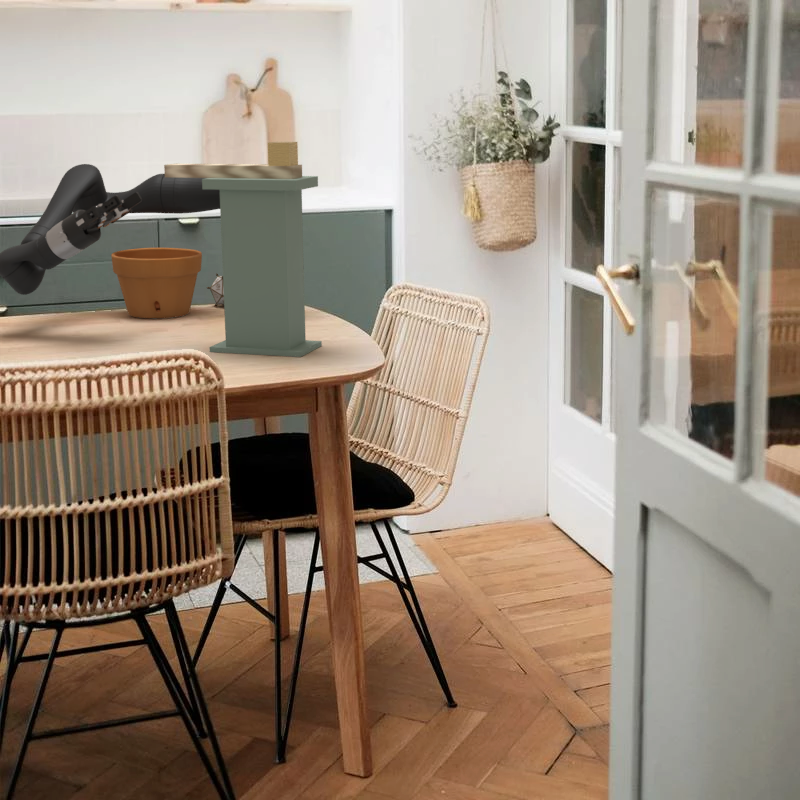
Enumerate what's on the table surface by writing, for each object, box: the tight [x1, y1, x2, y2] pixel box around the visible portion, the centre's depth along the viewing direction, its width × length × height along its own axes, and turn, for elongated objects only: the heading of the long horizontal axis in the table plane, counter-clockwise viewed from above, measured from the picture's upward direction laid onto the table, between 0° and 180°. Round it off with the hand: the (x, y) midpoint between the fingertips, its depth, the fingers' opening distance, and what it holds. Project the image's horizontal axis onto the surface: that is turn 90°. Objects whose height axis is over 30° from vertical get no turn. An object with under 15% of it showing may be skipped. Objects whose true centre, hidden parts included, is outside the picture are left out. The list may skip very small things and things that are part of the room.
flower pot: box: [110, 247, 203, 319], centre depth 310 cm, size 21×21×15 cm
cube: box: [267, 141, 299, 166], centre depth 258 cm, size 4×4×4 cm
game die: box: [206, 272, 224, 307], centre depth 321 cm, size 9×8×10 cm
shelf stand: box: [202, 175, 323, 358], centre depth 264 cm, size 20×12×35 cm, turn 73°
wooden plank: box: [163, 162, 303, 179], centre depth 262 cm, size 28×5×2 cm, turn 73°
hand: (129, 197), depth 271 cm, fingers open, 8 cm apart
